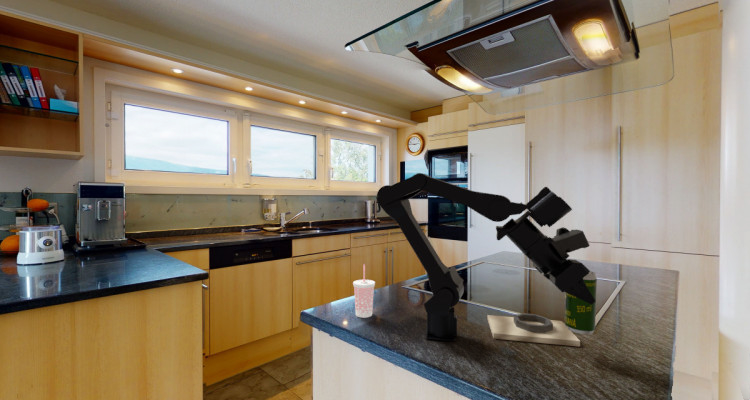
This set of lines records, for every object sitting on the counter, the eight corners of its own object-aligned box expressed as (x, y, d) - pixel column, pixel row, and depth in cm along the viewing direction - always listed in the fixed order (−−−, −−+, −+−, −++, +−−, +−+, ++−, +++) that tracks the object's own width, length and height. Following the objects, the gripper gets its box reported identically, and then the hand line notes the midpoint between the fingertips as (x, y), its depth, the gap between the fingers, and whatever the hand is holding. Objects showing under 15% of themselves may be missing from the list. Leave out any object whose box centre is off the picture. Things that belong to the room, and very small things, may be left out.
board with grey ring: (493, 338, 75) (493, 326, 75) (487, 319, 87) (487, 309, 87) (580, 346, 72) (580, 334, 72) (561, 325, 83) (561, 315, 83)
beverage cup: (379, 313, 91) (379, 263, 91) (365, 320, 86) (366, 267, 86) (362, 309, 95) (362, 261, 95) (348, 315, 90) (348, 264, 90)
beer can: (582, 324, 70) (584, 268, 70) (601, 334, 65) (603, 274, 65) (558, 324, 70) (560, 268, 70) (576, 335, 64) (577, 274, 64)
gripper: (578, 218, 59) (647, 285, 56) (549, 213, 77) (600, 263, 75) (529, 259, 61) (594, 325, 58) (512, 244, 79) (561, 294, 77)
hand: (587, 298), depth 67 cm, fingers closed on beer can, 5 cm apart
